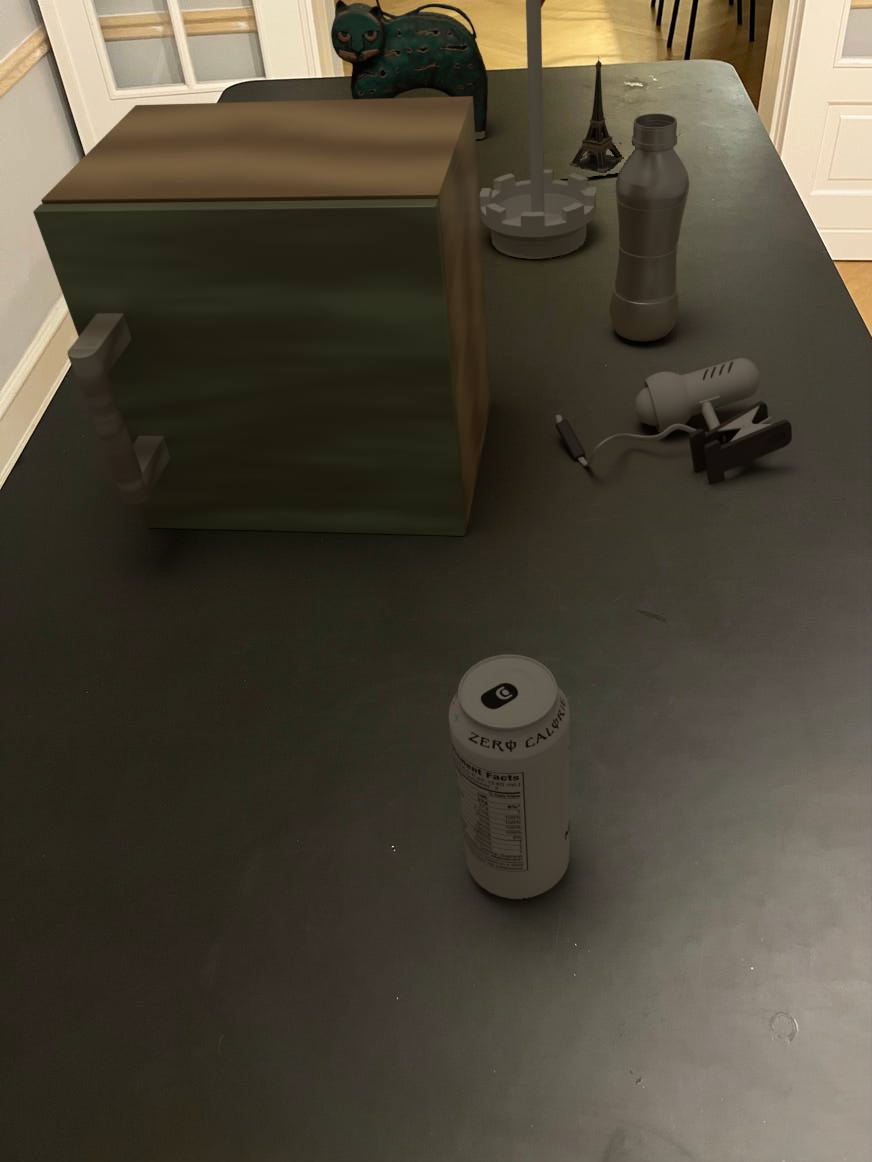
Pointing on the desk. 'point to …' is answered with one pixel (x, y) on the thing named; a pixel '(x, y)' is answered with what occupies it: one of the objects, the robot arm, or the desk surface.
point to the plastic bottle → (649, 231)
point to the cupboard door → (267, 361)
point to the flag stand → (537, 182)
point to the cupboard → (319, 189)
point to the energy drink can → (512, 774)
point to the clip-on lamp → (702, 392)
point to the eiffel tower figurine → (597, 138)
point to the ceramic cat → (410, 54)
